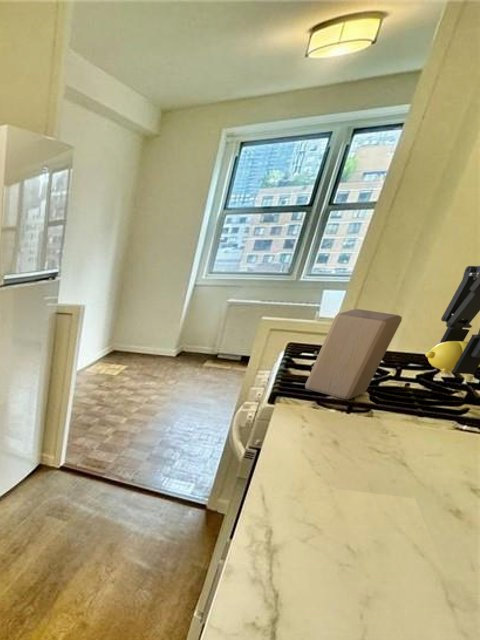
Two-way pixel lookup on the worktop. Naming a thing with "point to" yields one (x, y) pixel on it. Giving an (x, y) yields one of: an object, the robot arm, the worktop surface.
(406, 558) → the worktop surface
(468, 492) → the worktop surface
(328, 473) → the worktop surface
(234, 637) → the worktop surface
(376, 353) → the block
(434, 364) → the lemon
